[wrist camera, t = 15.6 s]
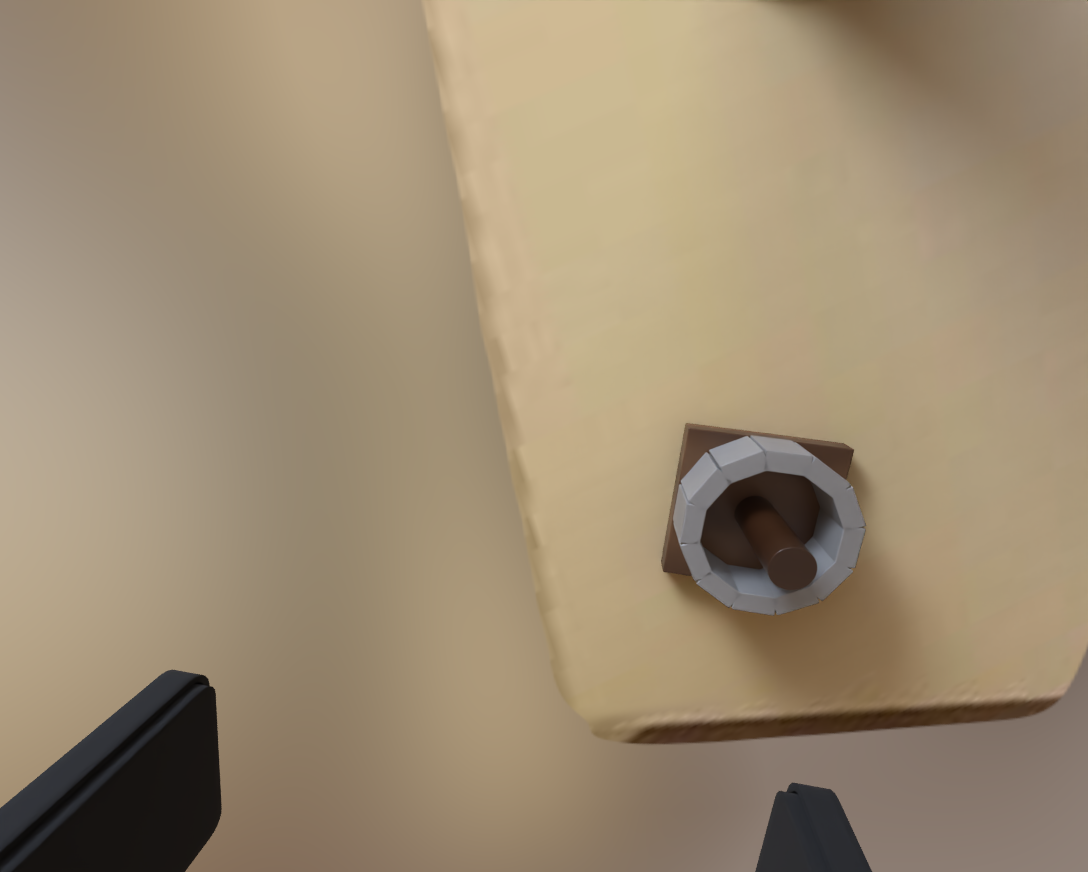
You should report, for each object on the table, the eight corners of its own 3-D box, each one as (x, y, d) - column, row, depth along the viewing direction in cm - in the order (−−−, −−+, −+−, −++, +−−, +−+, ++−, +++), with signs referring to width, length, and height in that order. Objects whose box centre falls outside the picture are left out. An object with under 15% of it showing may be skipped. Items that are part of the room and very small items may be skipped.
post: (685, 422, 35) (710, 462, 27) (844, 443, 34) (924, 490, 26) (660, 561, 38) (676, 639, 29) (808, 584, 37) (869, 670, 28)
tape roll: (689, 426, 34) (698, 441, 30) (855, 448, 33) (884, 465, 30) (663, 571, 36) (668, 599, 33) (817, 594, 35) (839, 626, 32)
